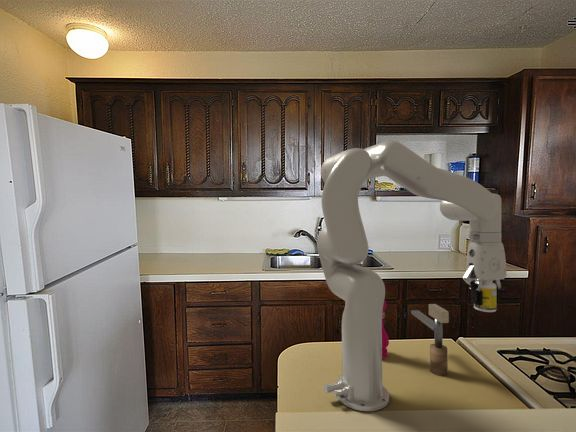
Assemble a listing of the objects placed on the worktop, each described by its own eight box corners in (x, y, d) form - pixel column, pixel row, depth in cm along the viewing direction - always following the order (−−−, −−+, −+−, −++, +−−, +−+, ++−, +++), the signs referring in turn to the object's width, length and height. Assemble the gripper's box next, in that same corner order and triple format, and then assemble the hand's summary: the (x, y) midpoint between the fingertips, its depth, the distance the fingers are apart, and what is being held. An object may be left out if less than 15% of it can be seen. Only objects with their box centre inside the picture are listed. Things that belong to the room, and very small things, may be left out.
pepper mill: (390, 360, 96) (389, 294, 96) (365, 359, 98) (364, 293, 97) (387, 350, 103) (387, 288, 103) (364, 348, 105) (363, 288, 104)
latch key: (449, 351, 86) (449, 311, 85) (440, 351, 85) (440, 311, 85) (418, 326, 104) (417, 293, 104) (411, 326, 104) (410, 293, 104)
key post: (438, 377, 86) (438, 351, 86) (426, 369, 91) (426, 344, 90) (451, 374, 88) (451, 348, 88) (439, 366, 92) (438, 342, 92)
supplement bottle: (469, 308, 90) (469, 273, 90) (481, 305, 93) (481, 272, 93) (489, 313, 85) (489, 277, 85) (500, 310, 88) (500, 275, 88)
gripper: (473, 240, 82) (473, 310, 83) (520, 238, 88) (520, 303, 88) (450, 238, 89) (450, 302, 90) (495, 236, 95) (495, 296, 95)
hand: (485, 302), depth 89 cm, fingers closed on supplement bottle, 5 cm apart
